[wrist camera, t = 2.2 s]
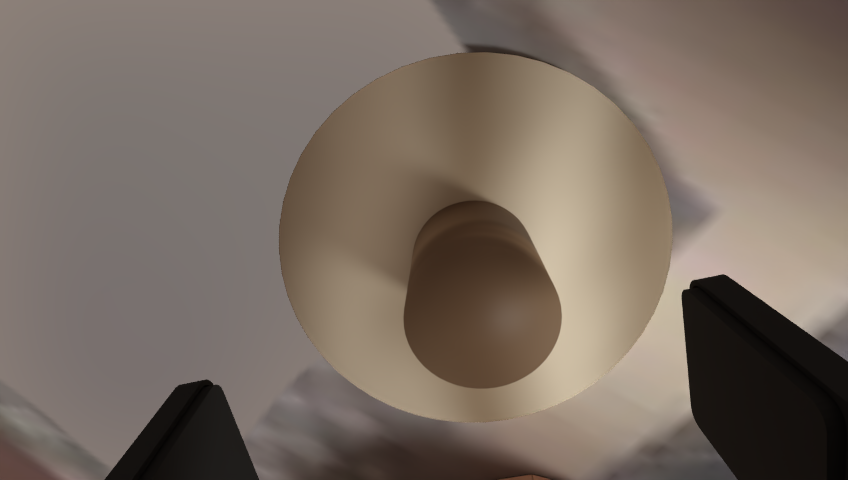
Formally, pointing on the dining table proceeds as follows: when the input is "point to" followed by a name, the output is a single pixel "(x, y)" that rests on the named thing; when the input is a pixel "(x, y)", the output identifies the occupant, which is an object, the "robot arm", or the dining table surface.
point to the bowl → (526, 478)
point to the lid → (475, 237)
